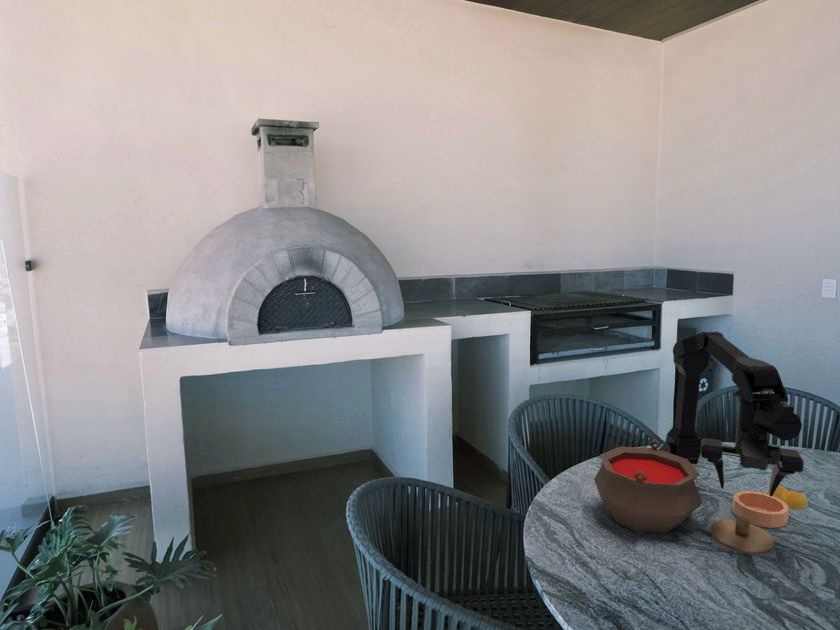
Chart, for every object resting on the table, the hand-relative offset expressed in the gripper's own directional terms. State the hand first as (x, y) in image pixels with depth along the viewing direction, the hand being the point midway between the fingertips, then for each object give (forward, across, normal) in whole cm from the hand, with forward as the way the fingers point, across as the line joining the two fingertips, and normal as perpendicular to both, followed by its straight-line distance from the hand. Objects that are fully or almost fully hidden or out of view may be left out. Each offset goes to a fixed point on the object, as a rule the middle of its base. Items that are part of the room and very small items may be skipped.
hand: (745, 491), depth 125 cm
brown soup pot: (+12, -20, +2) cm, 23 cm away
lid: (+11, 0, 0) cm, 11 cm away
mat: (+12, 0, 0) cm, 12 cm away
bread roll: (+12, +12, +24) cm, 29 cm away
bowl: (+12, +5, +13) cm, 18 cm away
